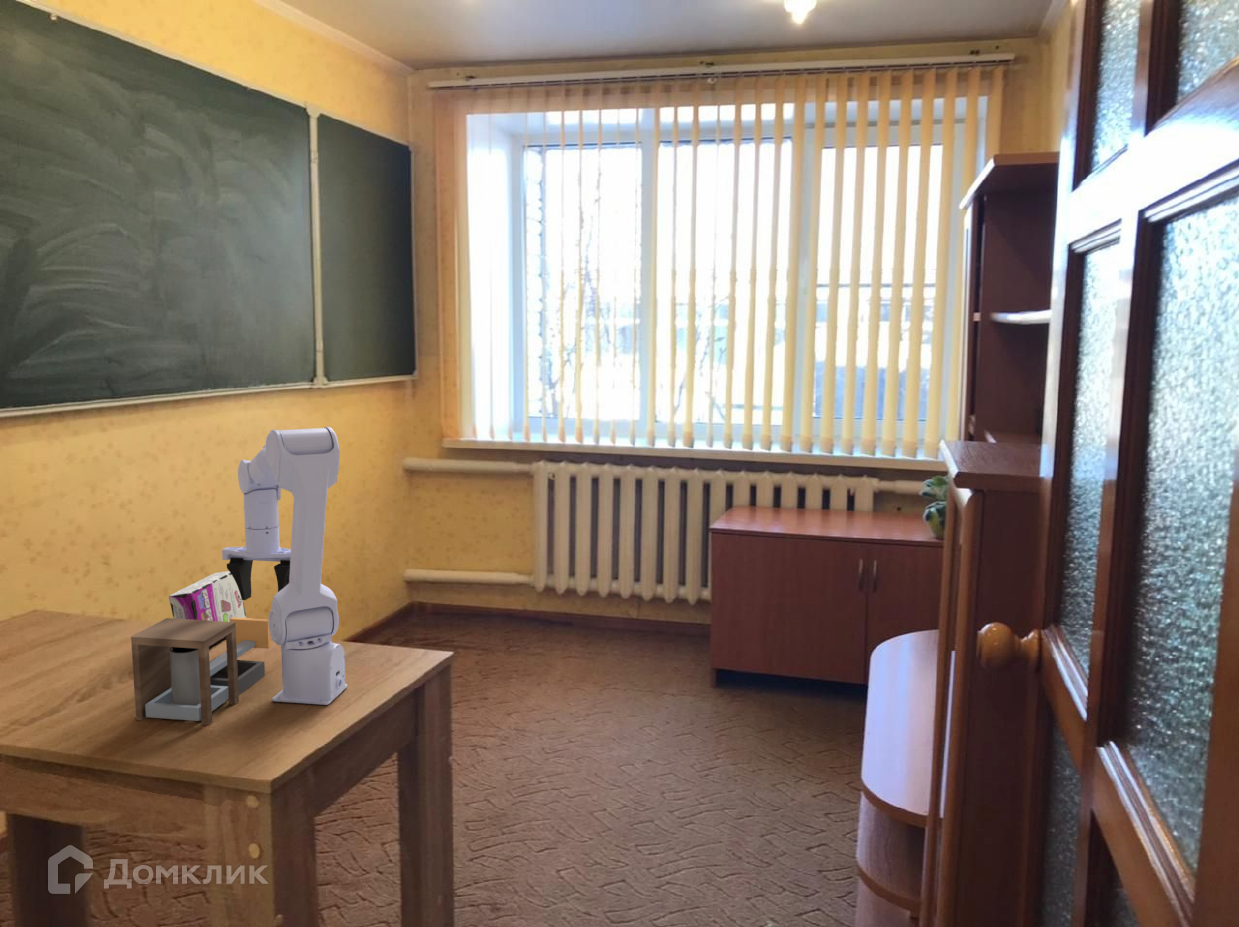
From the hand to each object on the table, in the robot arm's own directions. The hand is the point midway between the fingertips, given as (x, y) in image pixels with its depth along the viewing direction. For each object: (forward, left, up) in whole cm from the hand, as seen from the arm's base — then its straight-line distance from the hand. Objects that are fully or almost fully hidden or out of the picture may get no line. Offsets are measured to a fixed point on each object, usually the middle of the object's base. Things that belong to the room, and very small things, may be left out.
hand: (264, 599), depth 168 cm
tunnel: (0, +25, -10) cm, 27 cm away
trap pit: (0, +14, -10) cm, 17 cm away
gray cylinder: (0, +25, -11) cm, 27 cm away
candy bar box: (+14, +2, -5) cm, 15 cm away
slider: (0, +17, -10) cm, 20 cm away
